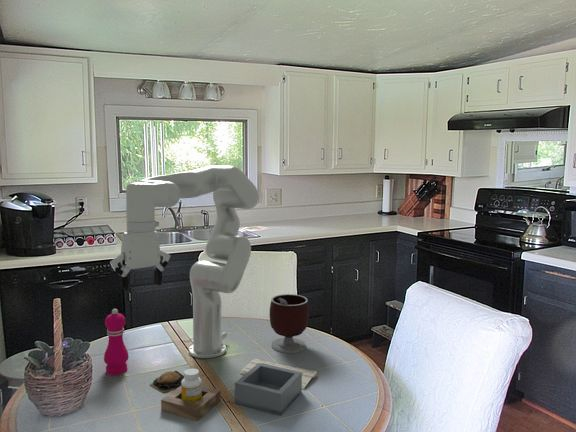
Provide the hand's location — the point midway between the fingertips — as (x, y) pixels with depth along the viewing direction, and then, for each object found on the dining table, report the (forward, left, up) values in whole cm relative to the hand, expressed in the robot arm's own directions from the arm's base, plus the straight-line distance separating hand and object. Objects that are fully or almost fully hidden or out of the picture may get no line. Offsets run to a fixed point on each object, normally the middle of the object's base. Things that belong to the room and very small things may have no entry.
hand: (141, 286), depth 139 cm
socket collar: (+2, +18, -30) cm, 35 cm away
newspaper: (-26, +31, -31) cm, 51 cm away
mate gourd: (-46, +25, -30) cm, 60 cm away
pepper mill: (-5, -15, -30) cm, 34 cm away
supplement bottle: (+2, +18, -30) cm, 36 cm away
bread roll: (-6, +5, -31) cm, 32 cm away
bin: (-11, +35, -30) cm, 48 cm away
